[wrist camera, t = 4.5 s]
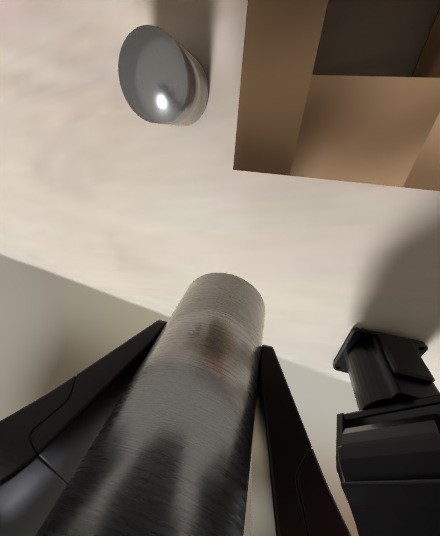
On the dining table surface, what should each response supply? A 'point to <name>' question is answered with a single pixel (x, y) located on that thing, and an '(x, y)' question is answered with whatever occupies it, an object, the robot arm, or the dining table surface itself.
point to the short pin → (161, 78)
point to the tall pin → (177, 428)
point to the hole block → (332, 107)
